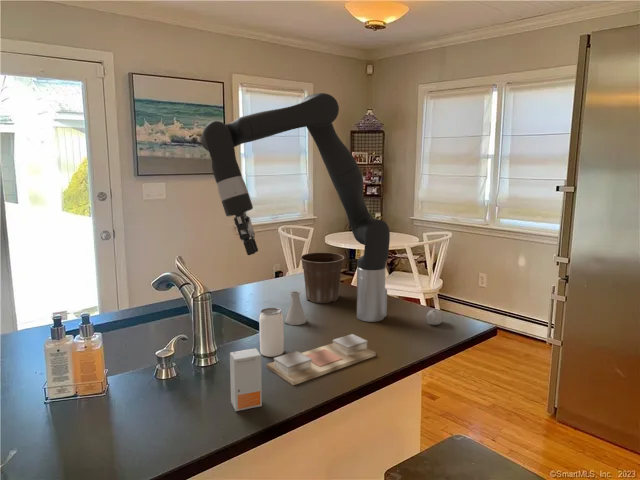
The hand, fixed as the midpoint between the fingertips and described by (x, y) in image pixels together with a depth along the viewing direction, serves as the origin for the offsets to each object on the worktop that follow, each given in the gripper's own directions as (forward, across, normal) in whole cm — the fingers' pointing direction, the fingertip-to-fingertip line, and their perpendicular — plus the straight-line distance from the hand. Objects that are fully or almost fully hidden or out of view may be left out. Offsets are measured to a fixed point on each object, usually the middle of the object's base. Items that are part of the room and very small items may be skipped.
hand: (253, 253), depth 129 cm
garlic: (+40, +20, -46) cm, 64 cm away
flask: (+26, +25, -3) cm, 36 cm away
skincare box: (+30, -26, +9) cm, 41 cm away
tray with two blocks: (+32, -5, -9) cm, 34 cm away
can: (+28, +1, +4) cm, 28 cm away
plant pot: (+26, +49, -14) cm, 57 cm away
